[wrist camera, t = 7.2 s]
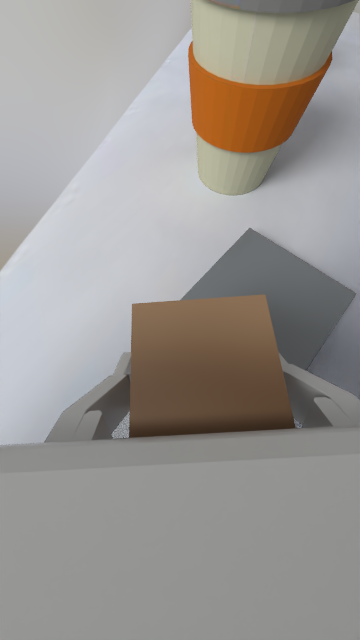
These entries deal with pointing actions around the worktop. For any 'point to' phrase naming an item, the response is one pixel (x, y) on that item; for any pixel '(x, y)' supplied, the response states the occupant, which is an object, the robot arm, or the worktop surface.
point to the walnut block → (206, 368)
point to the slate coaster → (279, 293)
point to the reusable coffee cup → (255, 80)
